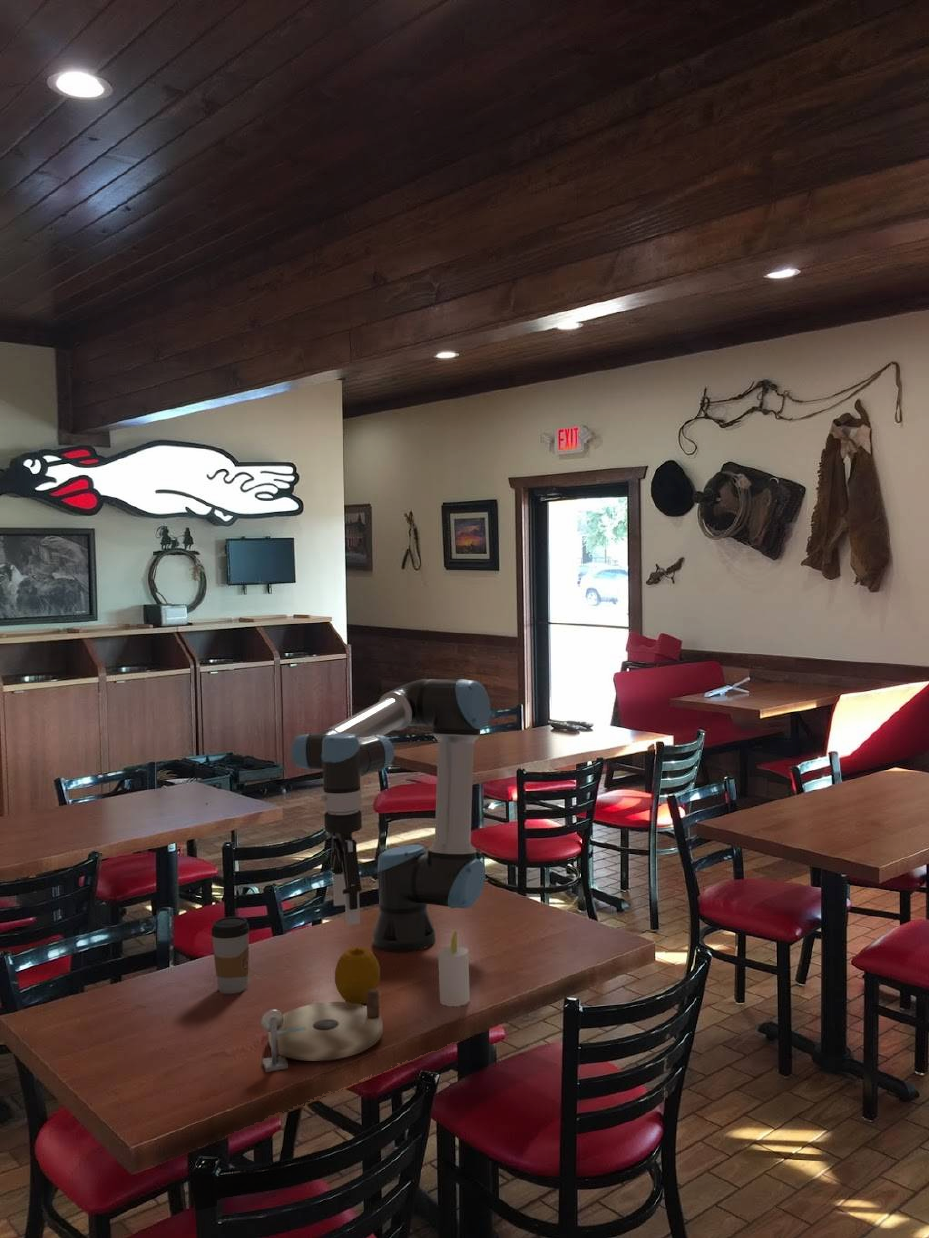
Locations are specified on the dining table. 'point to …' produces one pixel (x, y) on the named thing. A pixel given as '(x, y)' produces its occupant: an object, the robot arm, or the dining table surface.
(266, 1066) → the indicator stand
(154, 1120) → the dining table surface
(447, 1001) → the candle
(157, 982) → the dining table surface
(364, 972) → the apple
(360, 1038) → the turntable
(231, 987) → the coffee cup
